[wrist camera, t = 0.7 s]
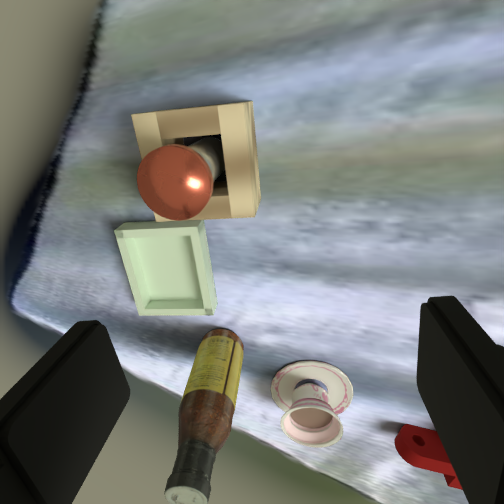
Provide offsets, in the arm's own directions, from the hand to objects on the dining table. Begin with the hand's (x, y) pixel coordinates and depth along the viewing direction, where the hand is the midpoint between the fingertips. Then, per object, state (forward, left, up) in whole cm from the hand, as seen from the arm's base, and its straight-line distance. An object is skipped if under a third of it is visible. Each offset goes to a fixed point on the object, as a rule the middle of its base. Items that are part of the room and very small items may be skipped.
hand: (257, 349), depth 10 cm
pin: (-1, -8, -28) cm, 29 cm away
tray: (+12, -15, -28) cm, 34 cm away
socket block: (-1, -8, -28) cm, 29 cm away
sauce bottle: (+25, -10, -28) cm, 39 cm away
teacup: (+33, +2, -29) cm, 44 cm away
